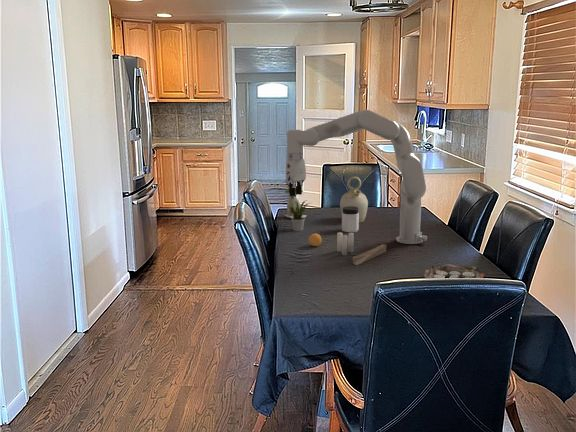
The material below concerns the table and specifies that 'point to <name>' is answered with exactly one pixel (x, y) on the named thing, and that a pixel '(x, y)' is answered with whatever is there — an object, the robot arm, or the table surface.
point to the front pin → (339, 242)
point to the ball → (315, 239)
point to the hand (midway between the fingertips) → (295, 194)
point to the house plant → (297, 216)
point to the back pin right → (350, 242)
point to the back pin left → (344, 244)
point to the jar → (350, 219)
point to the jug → (355, 199)
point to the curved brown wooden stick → (369, 254)
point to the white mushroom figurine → (292, 202)
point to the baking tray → (454, 272)
